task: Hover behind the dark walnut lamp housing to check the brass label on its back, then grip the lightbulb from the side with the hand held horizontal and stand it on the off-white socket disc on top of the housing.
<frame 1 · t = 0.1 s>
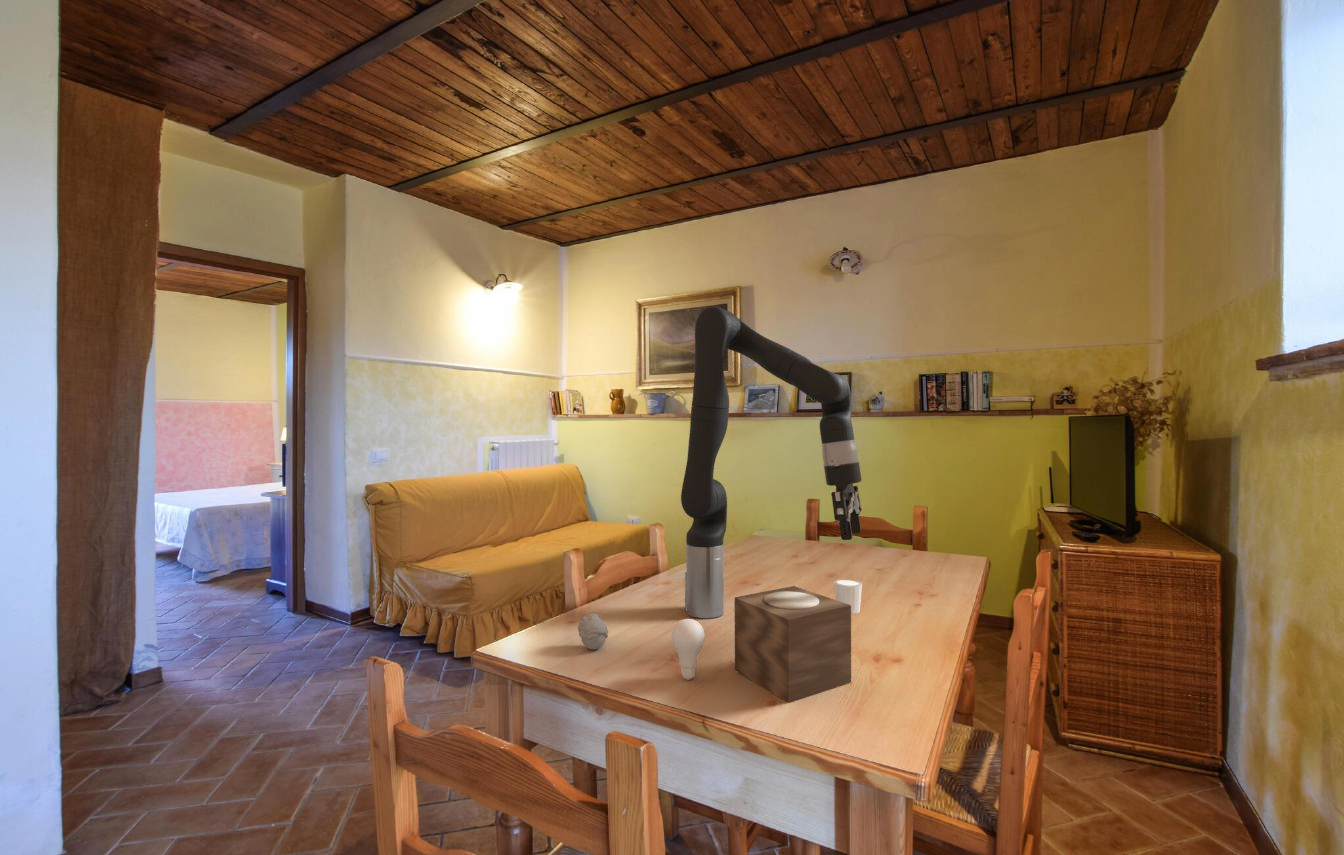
hand: (851, 536, 128), 22 cm above the table, tool pointing down, fingers open, 8 cm apart
lamp housing: (791, 676, 109), on the table
lightbulb: (688, 680, 108), on the table
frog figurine: (593, 649, 123), on the table
shot glass: (848, 611, 148), on the table
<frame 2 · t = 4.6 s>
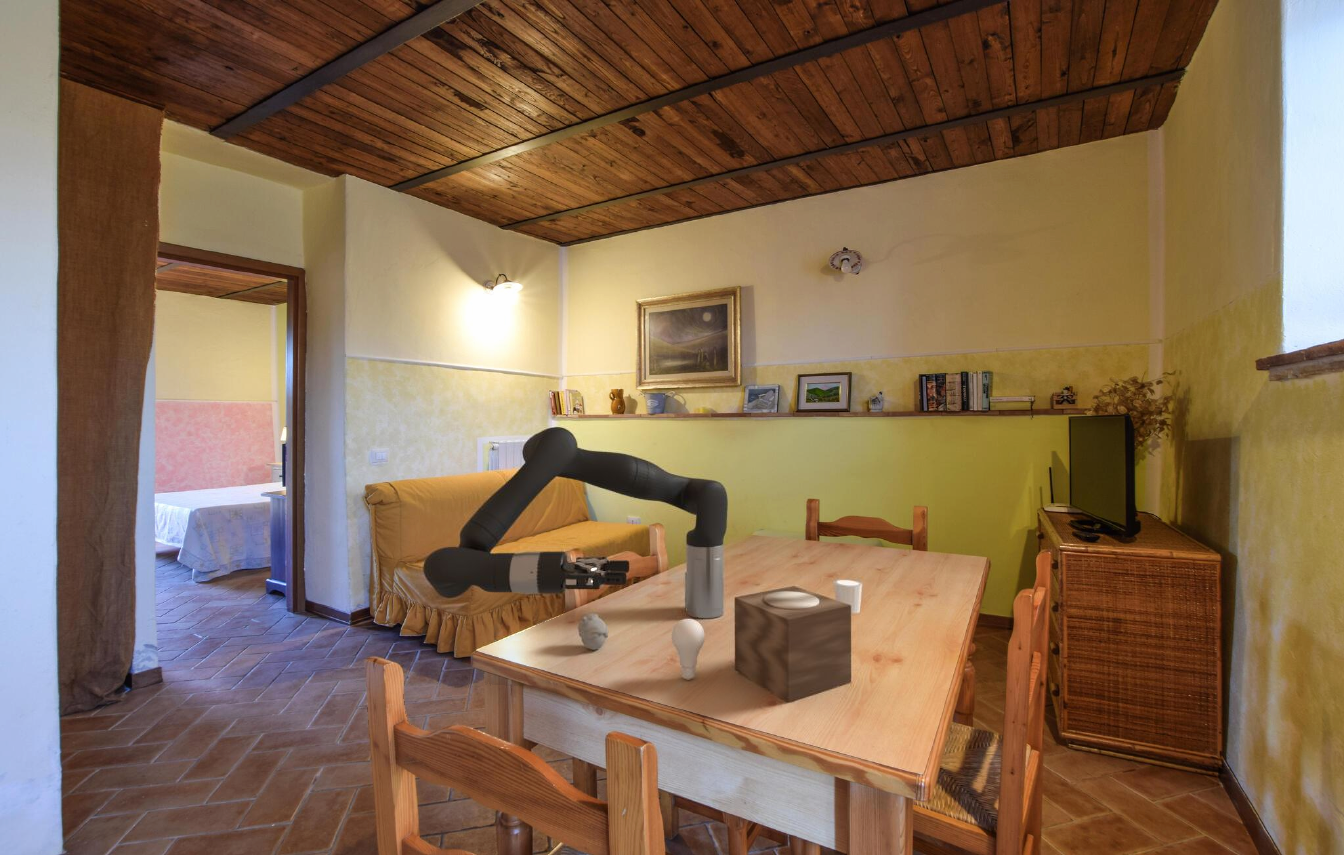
hand: (627, 571, 107), 20 cm above the table, tool horizontal, fingers open, 8 cm apart
nothing on the table moved.
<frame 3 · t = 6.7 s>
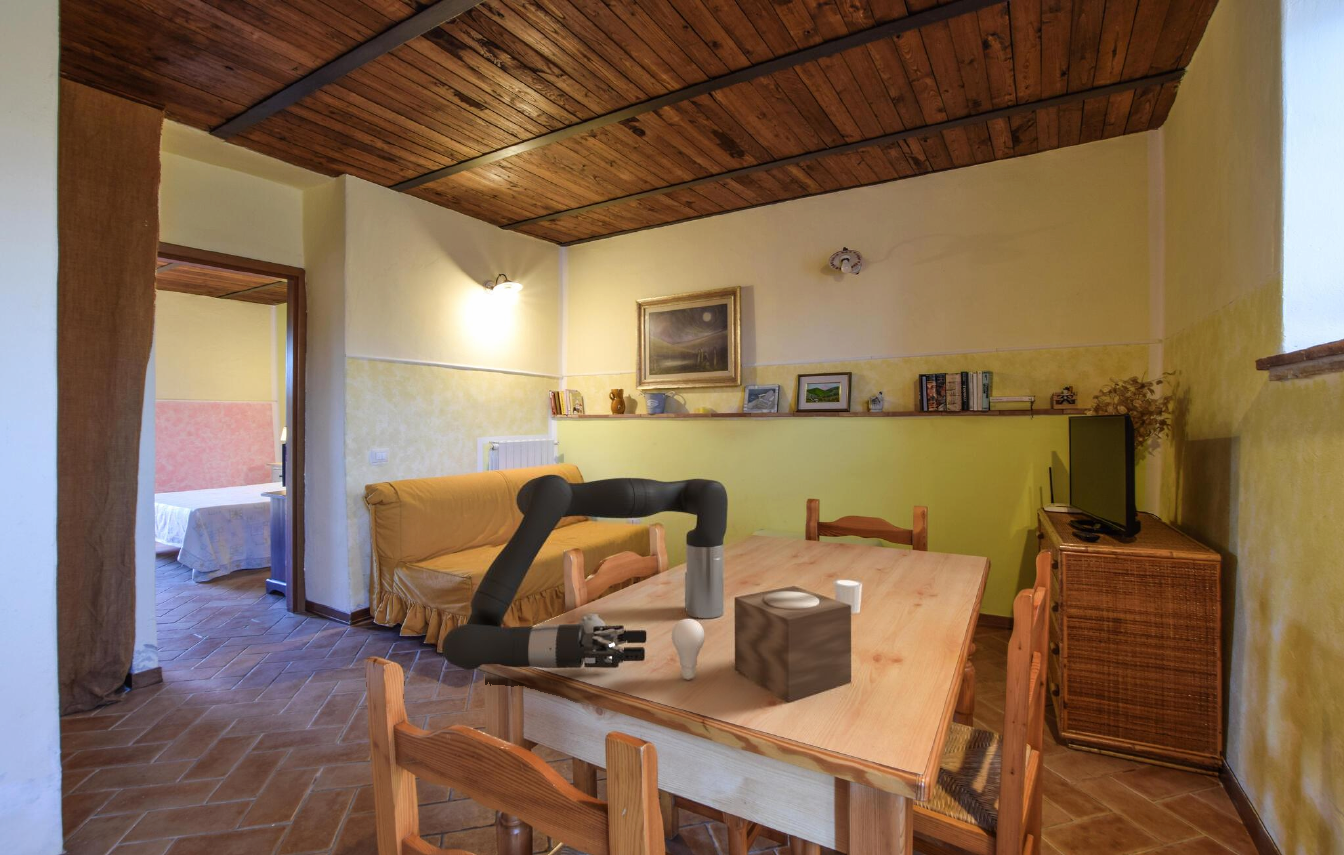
hand: (645, 644, 108), 6 cm above the table, tool horizontal, fingers open, 8 cm apart
nothing on the table moved.
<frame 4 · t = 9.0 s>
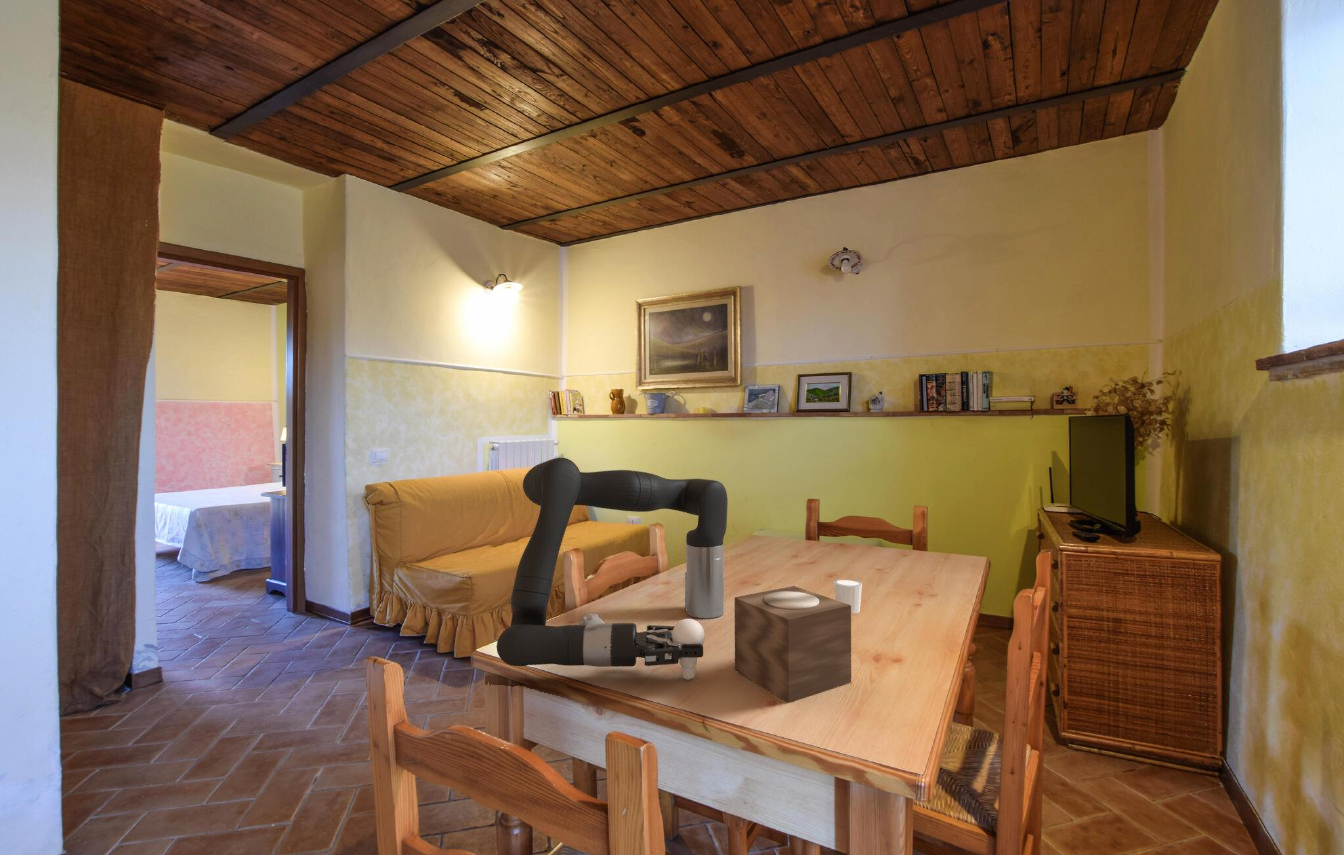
hand: (701, 643, 108), 7 cm above the table, tool horizontal, fingers closed on lightbulb, 5 cm apart
lightbulb: (688, 680, 108), on the table, touching gripper
everything else where it was.
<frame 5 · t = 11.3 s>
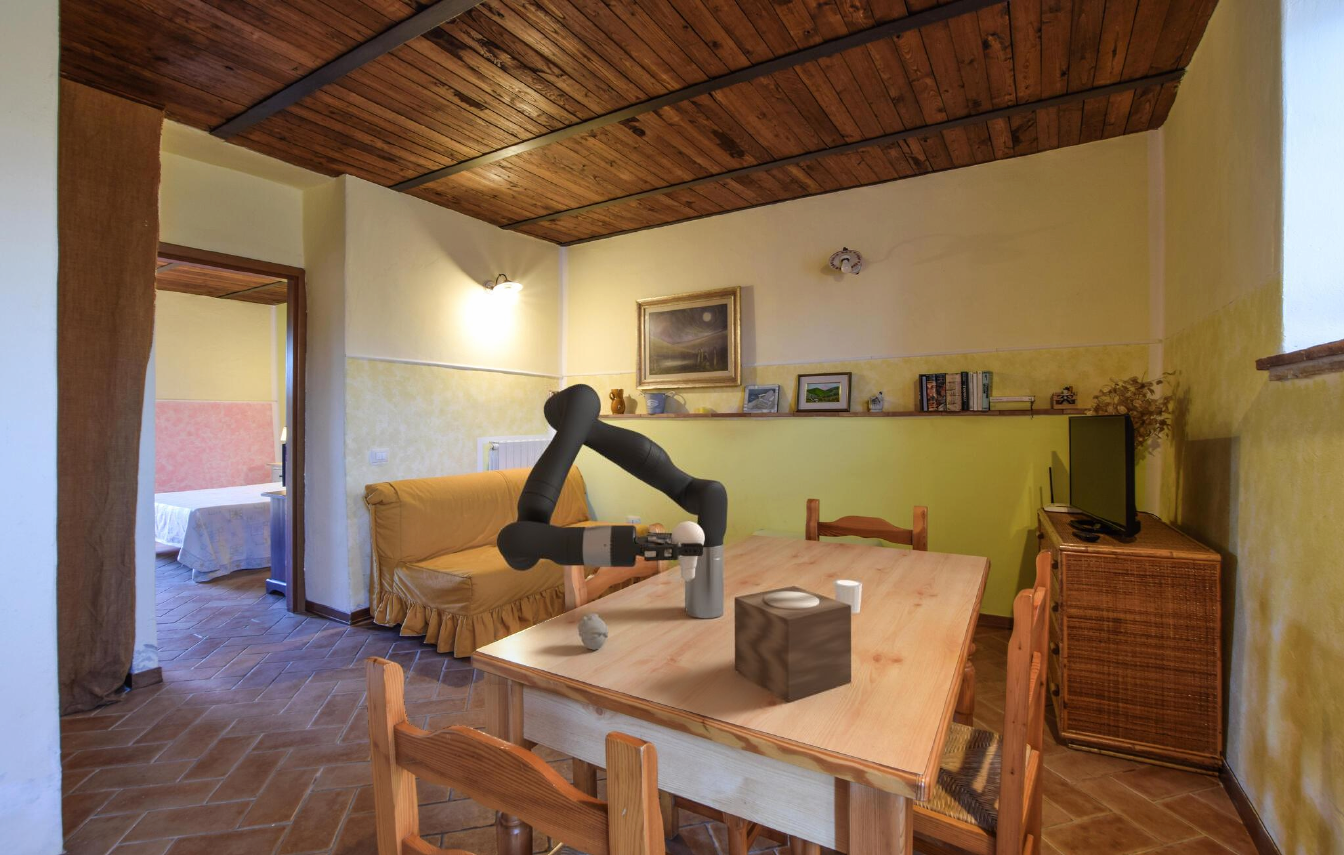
hand: (701, 545, 108), 25 cm above the table, tool horizontal, fingers closed on lightbulb, 5 cm apart
lightbulb: (687, 582, 108), point 18 cm above the table, touching gripper
everything else where it was.
when the fingers open (22 cm above the table, at t = 13.7 s): lightbulb stays where it is, resting on lamp housing.
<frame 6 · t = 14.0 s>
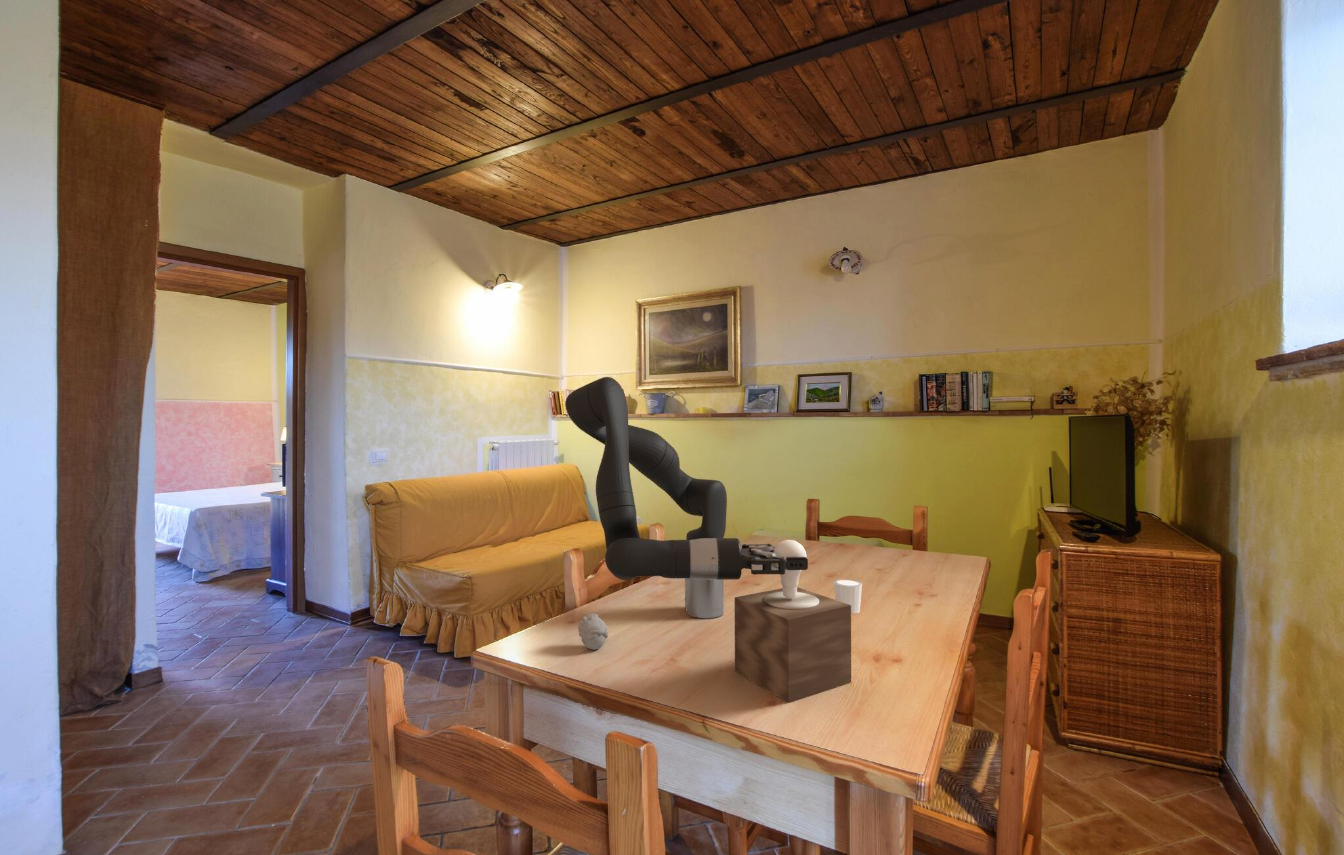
hand: (801, 558, 109), 22 cm above the table, tool horizontal, fingers open, 8 cm apart
lightbulb: (789, 600, 109), point 14 cm above the table, touching lamp housing
everything else where it was.
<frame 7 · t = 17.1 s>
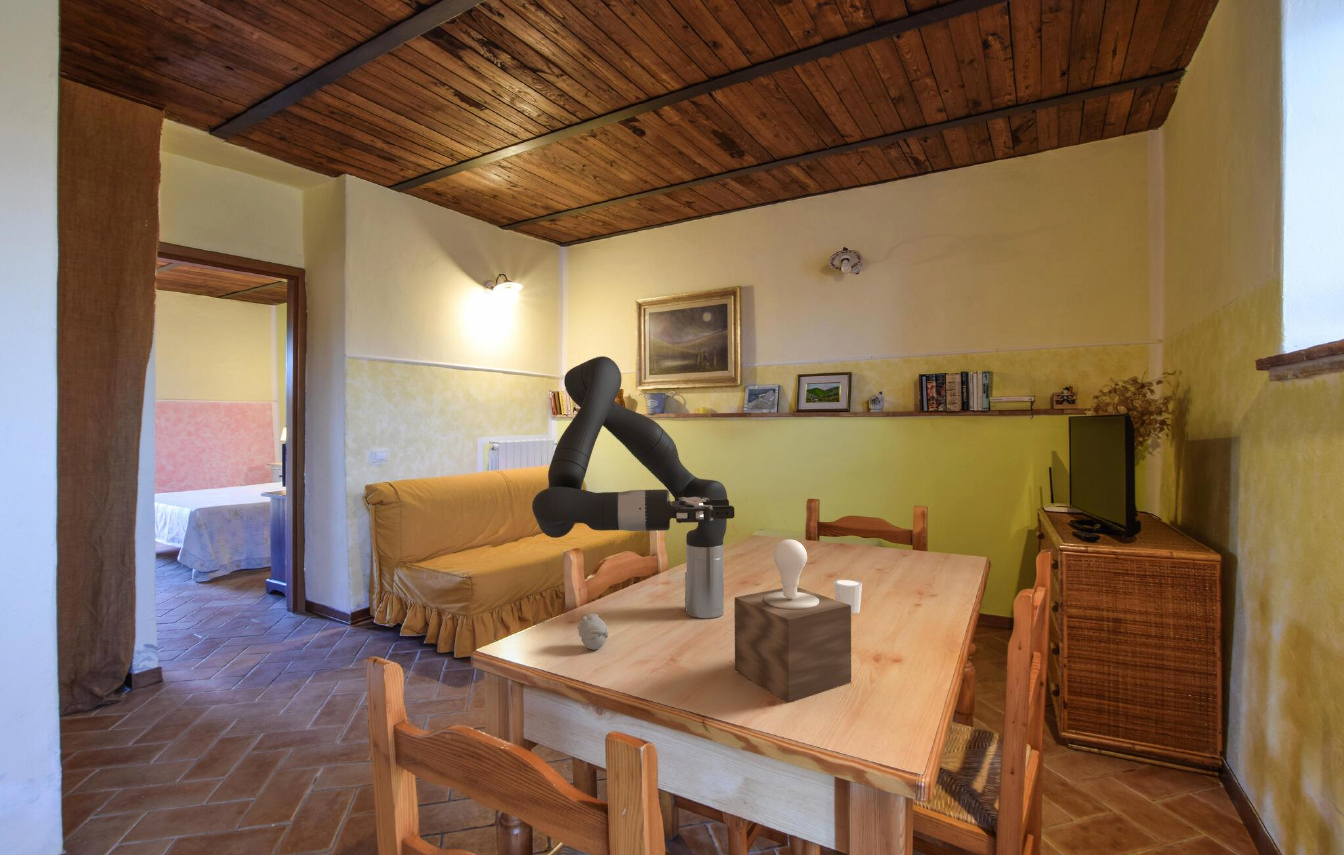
hand: (731, 508, 108), 31 cm above the table, tool horizontal, fingers open, 8 cm apart
nothing on the table moved.
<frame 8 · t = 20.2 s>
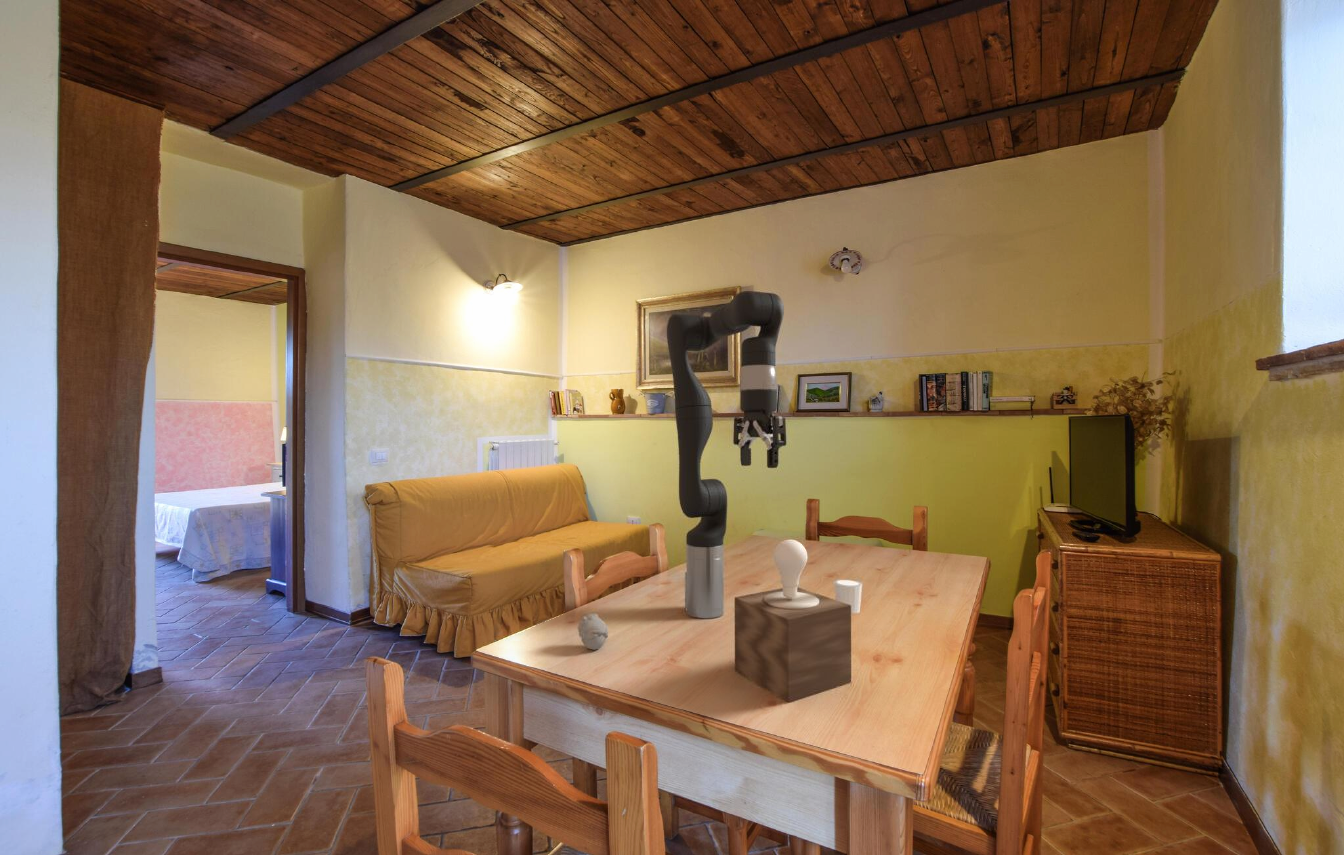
hand: (758, 466, 121), 38 cm above the table, tool pointing down, fingers open, 8 cm apart
nothing on the table moved.
at the end: lightbulb inside the target area on the lamp housing (0.3 cm from its centre), point 14.2 cm above the lamp housing's base; lightbulb tilted 1°; the gripper is holding nothing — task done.
